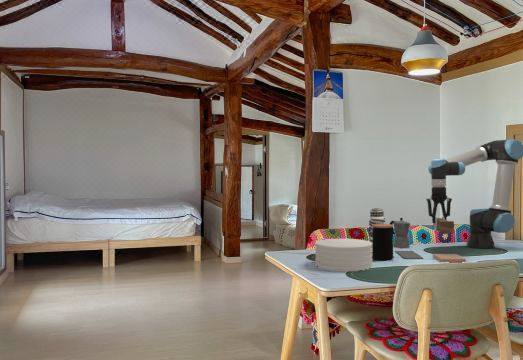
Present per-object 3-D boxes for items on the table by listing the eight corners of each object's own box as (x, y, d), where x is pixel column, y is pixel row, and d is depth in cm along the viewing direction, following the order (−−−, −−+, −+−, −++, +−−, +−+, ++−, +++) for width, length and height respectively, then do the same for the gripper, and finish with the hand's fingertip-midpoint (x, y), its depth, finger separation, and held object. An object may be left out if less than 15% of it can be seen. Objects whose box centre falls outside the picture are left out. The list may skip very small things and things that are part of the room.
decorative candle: (388, 252, 267) (388, 208, 267) (375, 253, 264) (374, 209, 263) (379, 249, 276) (378, 207, 275) (365, 251, 272) (365, 208, 272)
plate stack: (333, 258, 253) (333, 237, 253) (381, 264, 235) (381, 241, 235) (304, 266, 231) (304, 243, 231) (355, 274, 213) (355, 249, 213)
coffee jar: (391, 256, 253) (391, 223, 253) (394, 260, 243) (394, 226, 242) (371, 256, 255) (371, 223, 254) (374, 260, 244) (373, 226, 244)
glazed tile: (455, 253, 249) (465, 259, 235) (455, 258, 249) (465, 264, 235) (432, 253, 250) (441, 259, 236) (432, 258, 250) (441, 264, 236)
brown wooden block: (430, 228, 263) (430, 218, 263) (443, 228, 263) (442, 217, 263) (440, 233, 246) (440, 221, 246) (454, 232, 245) (453, 221, 245)
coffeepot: (415, 247, 282) (415, 218, 281) (405, 249, 277) (405, 219, 276) (395, 244, 295) (395, 216, 294) (385, 246, 289) (384, 217, 289)
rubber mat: (412, 251, 268) (412, 250, 268) (423, 259, 246) (423, 257, 246) (394, 251, 269) (394, 250, 269) (404, 259, 247) (404, 257, 247)
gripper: (425, 187, 254) (426, 230, 255) (456, 186, 253) (457, 229, 254) (421, 186, 262) (422, 228, 262) (451, 186, 261) (452, 227, 261)
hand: (439, 228), depth 258 cm, fingers closed on brown wooden block, 3 cm apart
